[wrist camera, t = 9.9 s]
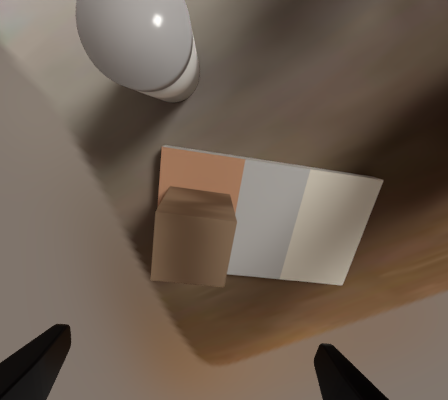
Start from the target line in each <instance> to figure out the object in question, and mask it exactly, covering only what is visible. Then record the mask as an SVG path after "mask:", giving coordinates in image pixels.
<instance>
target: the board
mask: <svg viewBox="0 0 448 400" xmlns="http://www.w3.org/2000/svg"><path fill="white" fill-rule="evenodd" d="M383 181H384V180H381V179H379V178H376V177H373V176H367V175H360V174H353V173H347V172H340V171H334V170H327V169H321V168H314V167H307V166H301V165H294V164H288V163H281V162H275V161H268V160H261V159H255V158H248V157H242V156H235V155H228V154H222V153H215V152H209V151H202V150H196V149H189V148H182V147H176V146H169V145H164V146H162V151H161V166H160V180H159V194H158V206H159V205H160V203H161V201H162V200H163V198H164V196H165V194H166V193H167V191H168V189H169V188H170V186H173V187H180V188H188V189H195V190H202V191H209V192H217V193H224V194H230V196H231V200H232V204H233V208H234V212H235V216H236V219H237V225H236V230H235V235H234V240H233V245H232V251H231V256H230V261H229V266H228V271H227V274H231V275H241V276H251V277H262V278H272V279H282V280H293V281H303V282H313V283H324V284H334V285H343V283H344V280H345V278H346V275H347V273H348V270H349V267H350V265H351V262H352V260H353V257H354V255H355V252H356V250H357V247H358V244H359V242H360V239H361V237H362V234H363V232H364V229H365V227H366V224H367V222H368V219H369V216H370V214H371V211H372V209H373V206H374V204H375V201H376V199H377V196H378V193H379V191H380V188H381V186H382V183H383Z"/></svg>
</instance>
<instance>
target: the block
mask: <svg viewBox="0 0 448 400" xmlns="http://www.w3.org/2000/svg"><path fill="white" fill-rule="evenodd" d="M236 225H237V219H236V216H235V212H234V208H233V204H232V200H231V196H230V194H224V193H217V192H209V191H202V190H195V189H188V188H180V187H173V186H170V188H169V189H168V191H167V193H166V194H165V196H164V198H163V200H162V201H161V203H160V205H159V206H158V208H157V210H156V212H155V225H154V239H153V253H152V267H151V280H152V281H163V282H173V283H184V284H195V285H205V286H216V287H224V286H225V281H226V276H227V271H228V266H229V261H230V256H231V251H232V245H233V240H234V235H235V230H236Z"/></svg>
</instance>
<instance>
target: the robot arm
mask: <svg viewBox="0 0 448 400" xmlns="http://www.w3.org/2000/svg"><path fill="white" fill-rule="evenodd" d="M70 346H71V332H70V326H69V325H66V324H56V325H54V326H52V327H51V328H49V329H48V330H46V331H45V332H44V333H42V334H41V335H39V336H38V337H37V338H35V339H34V340H32V341H31V342H30V343H28V344H27V345H25V346H24V347H22V348H21V349H19V350H18V351H17V352H15V353H14V354H12V355H11V356H9V357H8V358H7V359H5V360H4V361H2V362H1V363H0V400H46V399H47V397H48V395H49V393H50V391H51V388H52V386H53V384H54V382H55V380H56V378H57V375H58V373H59V371H60V369H61V367H62V364H63V362H64V360H65V358H66V356H67V354H68V352H69V349H70ZM314 366H315V370H316V374H317V378H318V382H319V386H320V390H321V394H322V398H323V400H389V399H388V398H387V397H385V395H384V394H383V393H381V392H380V391H379V390H378V389H377V388H376V387H375V386H374V385H373V384H372V383H371V382H370V381H369V380H368V379H367V378H366V377H365V376H364V375H363V374H362V373H361V372H360V371H359V370H358V369H357V368H356V367H355V366H354V365H353V364H352V363H351V362H350V361H349V360H348V359H347V358H345V357H344V356H343V355H342V354H341V353H340V352H339V351H338V350H337V349H336V348H335V347H334V346H333V345H331V344H323V343H322V344H320V345H319V348H318V350H317V352H316V355H315V358H314Z"/></svg>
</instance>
